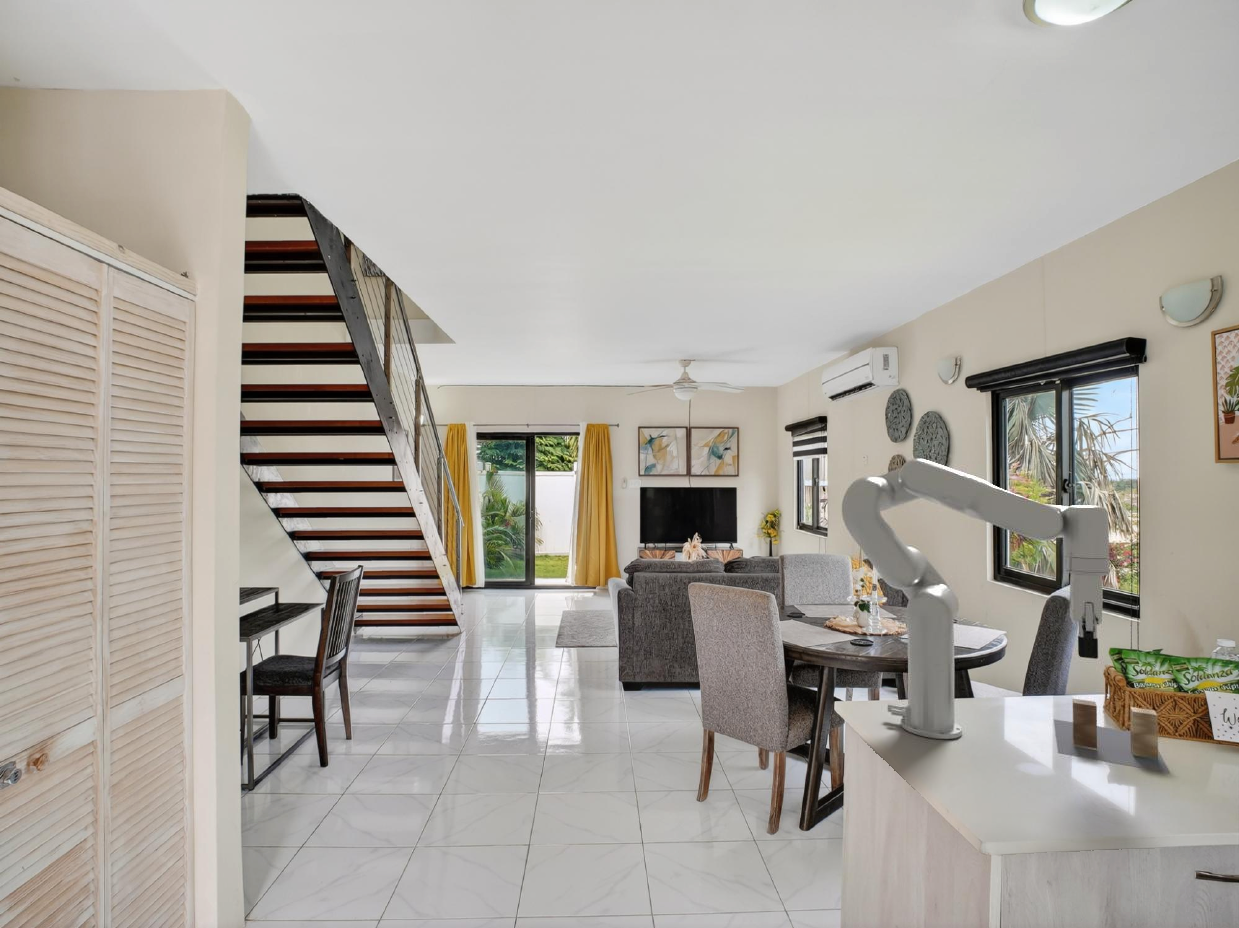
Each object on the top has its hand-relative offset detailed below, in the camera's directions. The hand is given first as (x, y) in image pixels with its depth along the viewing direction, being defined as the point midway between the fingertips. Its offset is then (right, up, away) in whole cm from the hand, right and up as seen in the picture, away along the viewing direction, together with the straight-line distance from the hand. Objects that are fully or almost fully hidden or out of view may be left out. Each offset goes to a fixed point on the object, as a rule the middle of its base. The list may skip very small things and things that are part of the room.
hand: (1088, 656), depth 138 cm
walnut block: (+3, -20, +6) cm, 21 cm away
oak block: (+12, -20, 0) cm, 23 cm away
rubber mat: (+9, -21, +7) cm, 23 cm away
